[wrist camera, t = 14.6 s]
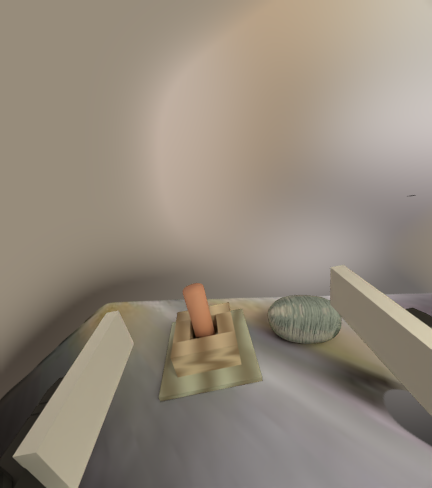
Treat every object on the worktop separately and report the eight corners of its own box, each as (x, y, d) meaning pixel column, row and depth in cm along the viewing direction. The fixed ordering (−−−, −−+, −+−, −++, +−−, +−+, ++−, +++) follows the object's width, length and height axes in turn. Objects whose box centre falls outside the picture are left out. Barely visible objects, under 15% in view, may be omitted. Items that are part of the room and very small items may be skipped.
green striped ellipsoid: (337, 302, 45) (330, 280, 38) (351, 349, 39) (345, 333, 32) (275, 309, 51) (260, 291, 45) (279, 351, 45) (262, 337, 38)
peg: (216, 335, 45) (203, 281, 40) (218, 350, 41) (203, 293, 36) (199, 339, 45) (183, 285, 40) (199, 354, 41) (181, 297, 36)
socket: (242, 311, 52) (239, 292, 50) (262, 380, 35) (258, 355, 33) (173, 325, 52) (166, 306, 50) (160, 401, 35) (149, 377, 33)
